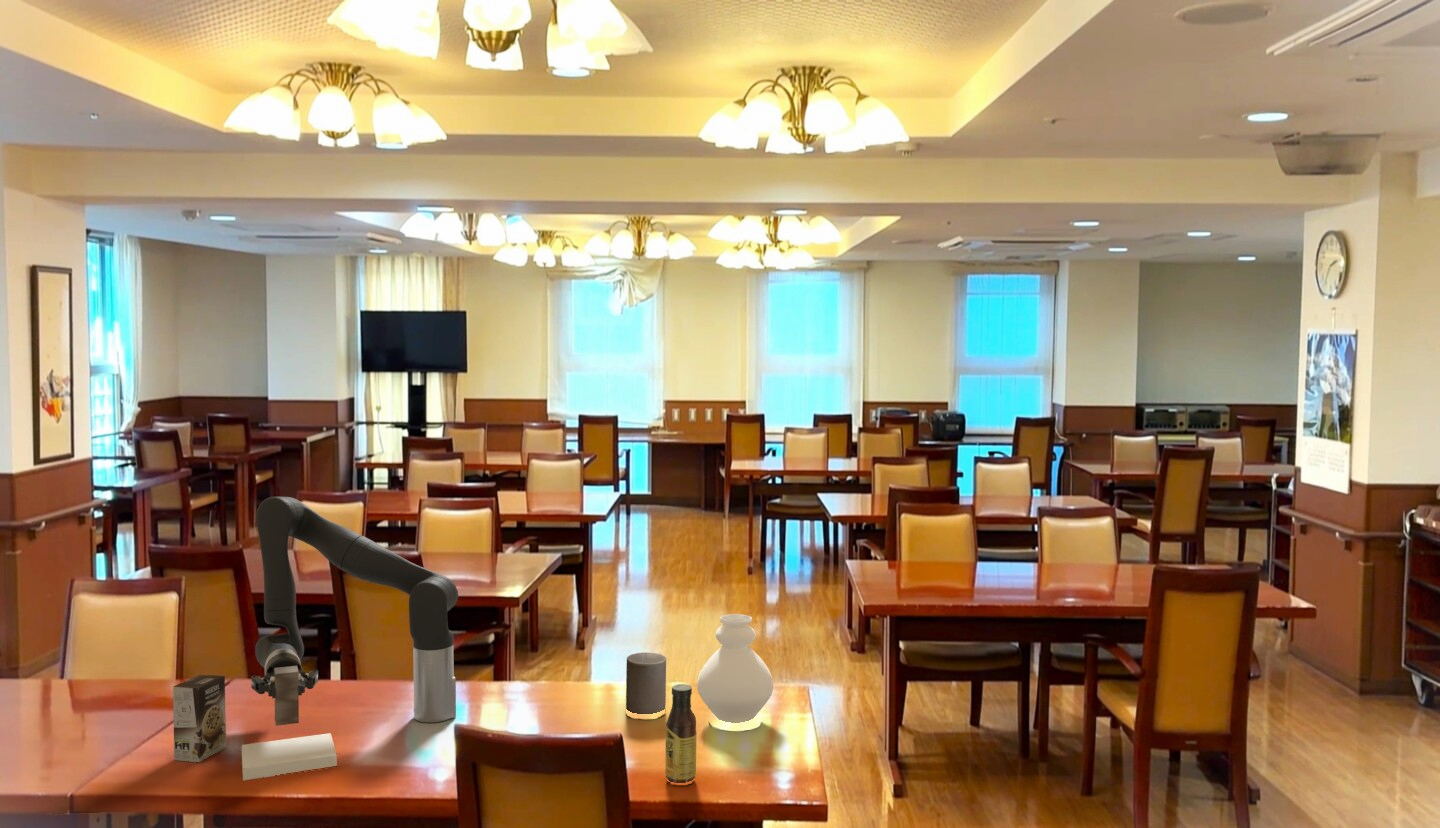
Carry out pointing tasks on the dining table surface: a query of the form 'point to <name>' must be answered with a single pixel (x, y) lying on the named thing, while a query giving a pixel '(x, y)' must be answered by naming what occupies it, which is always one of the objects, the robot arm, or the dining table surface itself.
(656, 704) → the pillar candle
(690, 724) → the sauce bottle
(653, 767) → the dining table surface
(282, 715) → the column
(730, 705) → the decorative vase
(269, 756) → the base
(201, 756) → the coffee box
